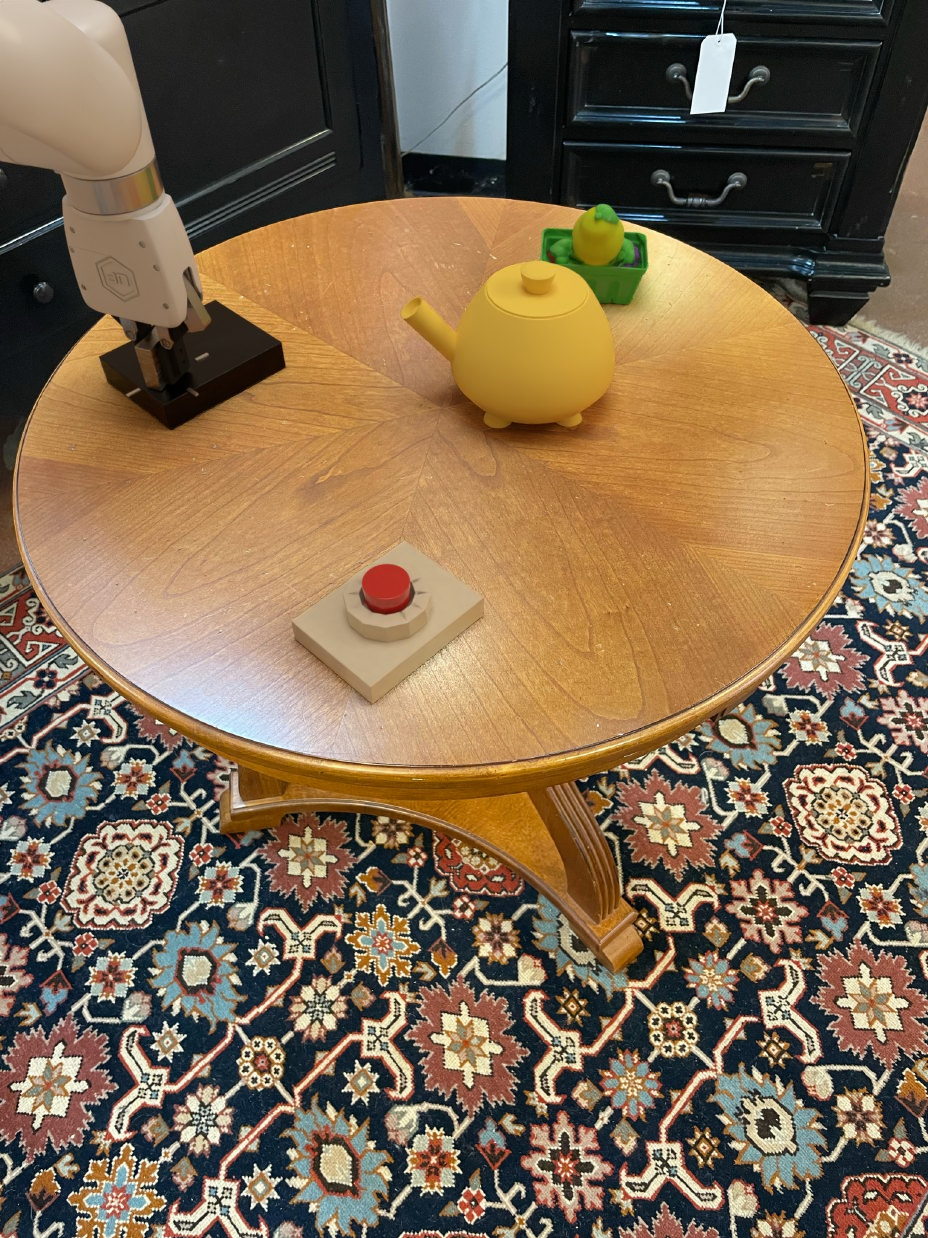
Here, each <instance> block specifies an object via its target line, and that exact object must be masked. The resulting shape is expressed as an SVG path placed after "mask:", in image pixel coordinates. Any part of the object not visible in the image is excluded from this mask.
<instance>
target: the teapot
mask: <svg viewBox="0 0 928 1238" xmlns="http://www.w3.org/2000/svg"><path fill="white" fill-rule="evenodd" d="M400 317H401V319H402V320H404V322H405V323H407V324H408V325H409V326H410V327H411V329H413V330H414V331H416V332H417V334H419V335H420V336H421V338H423V339H424V340H425V341H426V342H427V343H429V345H431V346H432V347H433V348H434V349H435V350H436V351H437V352H438V353H440V354H441V356H442V357H444V358H445V359H446V360H447V362H449V363H450V371H451V374H452V377H453V380H454V382H455V383H456V385H457V387H458V388H459V390H460V391H461V392H462V393H463V395H465V397H466V398H467V399H469V400H470V401H471V402H472V403H473V404H474V405H475V406H477V407H479V408H480V409H481V410H482V411H484V412H485V413H484V416H483V422H484V424H485V425H486V426H488V427H489V428H492V429H493V428H494V429H503V428H507V427H508V426H510V425H511V424H512V422H513V423H516V424H517V423H518V424H528V425H539V424H540V425H541V424H542V425H543V424H550V423H556V424H557V425H559V426H560V427H561V426H562V427H566V428H571V427H575V426H576V427H577V426H578V425H580V424H581V423H582V421H583V416H582V414H581V412H583V411H584V410H586V409H587V408H590V406H592V405H593V404H595V403H596V402H597V401H598V400H599V399H601V398H602V396H604V394H605V393H606V392H607V390H608V388H609V387H610V385H611V384H612V381H613V378H614V376H615V369H616V350H615V342H614V335H613V332H612V329H611V326H610V322H609V319H608V317H607V315H606V313H605V311H604V309H603V307H602V305H601V303H599V302H598V300H597V298H596V296H595V295H594V293H593V291H592V289H591V288H590V287H589V285H588V284H587V283H586V281H585V280H584V279H583V278H582V277H581V276H580V275H578V274H577V273H575V272H574V271H572V270H570V269H568V268H566V267H563V266H560V265H557V264H553V263H549V262H546V261H540V260H529V261H525V262H518V263H514V264H511V265H507V266H504V267H502V268H501V269H499V270H497V271H496V272H494V273H493V274H492V275H490V276H489V278H488V279H487V280H486V281H485V282H484V283H483V284H482V285H481V287H480V288H479V289H478V291H477V292H476V293H475V295H474V296H473V298H471V300H470V302H469V303H468V305H467V306H466V308H465V310H464V312H463V313H462V314H461V317H460V319H459V322H458V323H457V326H456V329H455V330H454V328H453V327H451V325H449V324H448V322H447V321H446V320H445V319H444V318H443V317H442V316H441V315H440V314H439V313H438V312H437V311H436V310H435V309H434V308H433V307H432V306H431V305H430V304H429V303H428V302H427V301H426V300H425V299H424V298H423V296H420V295H417V296H414V297H412V298H411V299H409V300H407V302H406V303H405V304H404V306H403V307H402V309H401V311H400Z"/></svg>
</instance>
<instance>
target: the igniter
mask: <svg viewBox="0 0 928 1238" xmlns="http://www.w3.org/2000/svg"><path fill="white" fill-rule="evenodd" d="M381 564H394V565H397V566H400V567H401V568H403V569H404V570H405V571H406V572H407V573H408V575H409V577H410V587H411V599H410V602H409V604H408V605H407V606H406V607H405V608H404V609H403V610H401V611H399V612H397V613H393V614H379V613H376V612H373V611H372V610H370V609H369V608H368V607H367V606H366V604H365V602H364V598H363V590H362V579H363V576H364V575H365V573H366V572H367V571H368V570H369V569H371V568H372V567H374V566H377V565H381ZM484 610H485V597H484V596H483V595H482V594H481V593H479V592H477V591H476V590H474V589H473V588H472V587H471V586H469V585H468V584H467V583H465V582H464V581H462V580H461V579H460V578H458V577H457V576H455V575H454V574H452V573H451V572H450V571H449V570H447V569H446V568H444V567H443V566H441V565H440V564H438V563H437V562H436V561H434V560H433V559H432V558H430V557H429V556H427V555H426V554H425V553H424V552H422V551H420V550H419V549H418V548H416V547H415V546H414V545H412V544H411V543H409V542H408V541H406V540H402V541H401V542H400V543H399V544H397V545H395V546H394V547H393V548H390V550H388V551H387V552H385V553H384V554H383V555H382V556H379V558H377V559H376V560H374V561H373V562H372V563H370V564H368V565H366V566H364V567H363V568H361V569H359V571H357V572H356V573H354V574H353V575H352V576H350V577H349V579H347V580H346V581H345V582H343V583H342V584H341V585H339V586H338V587H336V588H335V589H333V590H332V591H331V592H329V593H328V594H326V595H325V596H323V597H322V598H321V599H320V600H318V601H317V602H315V603H314V604H313V605H311V606H309V607H308V608H307V609H306V610H304V611H302V613H300V614H299V615H297V616H296V617H294V618H293V619H291V627H292V631H293V636H294V639H295V640H296V641H297V642H299V643H300V644H301V645H302V646H303V647H304V648H306V649H307V650H308V651H309V652H310V653H312V654H313V655H314V656H315V657H316V658H317V659H319V660H320V661H321V662H322V663H323V664H325V666H327V667H328V668H329V669H330V670H331V671H332V672H334V673H335V674H337V676H339V677H340V678H341V679H342V680H344V681H345V682H346V683H347V684H348V685H349V686H350V687H351V688H353V689H354V690H355V691H356V692H357V693H359V694H360V695H361V696H362V697H363V698H365V699H366V700H367V701H368V702H369V703H370V704H371V705H373V704H375V703H376V702H377V701H379V700H380V699H382V697H384V696H385V695H386V694H387V693H388V692H390V691H391V690H392V689H394V688H395V687H396V686H398V684H400V683H401V682H402V681H403V680H405V679H406V678H408V676H410V675H411V674H412V673H413V672H415V671H416V670H418V669H419V667H421V666H422V665H423V664H425V662H427V661H429V660H430V659H431V658H432V657H434V655H436V654H437V653H439V651H441V650H442V649H443V648H444V647H446V646H448V645H449V644H450V643H451V642H452V641H453V640H455V639H456V638H457V637H458V636H459V635H461V634H462V633H463V632H464V631H465V630H467V629H468V628H469V627H471V626H472V625H474V623H476V622H477V621H478V620H480V619H481V618H482V617H483V616H484V614H485V613H484V612H485V611H484Z"/></svg>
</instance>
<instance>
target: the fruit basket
mask: <svg viewBox="0 0 928 1238" xmlns="http://www.w3.org/2000/svg"><path fill="white" fill-rule="evenodd" d="M540 244H541V245H540V246H541V247H540V256H539V261H546V262H549V263H553V264H557V265H560V266H563V267H566V268H568V269H570V270H572V271H574V272H575V273H577V274H578V275H580V276H581V277H582V278H583V279H584V280H585V281H586V283H587V284H588V285H589V287H590V288H591V289H592V291H593V293H594V295H595V296H596V298H597V300H598V302H599V303H600V304H611V303H613V304H615V305H630V304H631V303H632V300H633V298H634V296H635V294H636V291H637V290H638V288H639V285H640V283H641V281H642V278H643V276H644V275H645V274H646V273H647V271H648V269H649V252H648V238H647V235H646V234H644V233H642V232H637V231H625V229H624V225H623V223H622V221H621V219H620V217H619V216H617V213H616V211H615V210H614V209H613V207H612V206H610V205H609V204H605V203H600V204H597V205H596V206H593V207H591V208H589V209H587V211H585V212H583V213H582V214H581V215H580V216H579V217H578V218H577V220H576V221H575V223H574V225H573V228H560V227H546V228H544V229H542V231H541V243H540Z"/></svg>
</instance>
